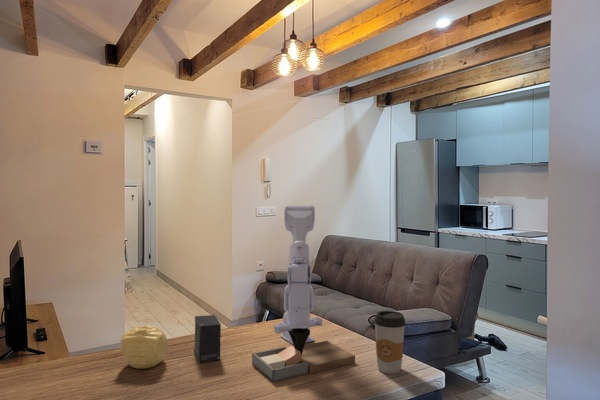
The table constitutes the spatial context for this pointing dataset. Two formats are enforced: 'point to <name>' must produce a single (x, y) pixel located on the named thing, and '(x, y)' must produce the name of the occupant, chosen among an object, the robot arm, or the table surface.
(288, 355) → the terracotta tile
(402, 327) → the coffee cup
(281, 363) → the cream tile
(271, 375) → the tray
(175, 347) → the table surface
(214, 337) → the small box
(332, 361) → the board
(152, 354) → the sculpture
